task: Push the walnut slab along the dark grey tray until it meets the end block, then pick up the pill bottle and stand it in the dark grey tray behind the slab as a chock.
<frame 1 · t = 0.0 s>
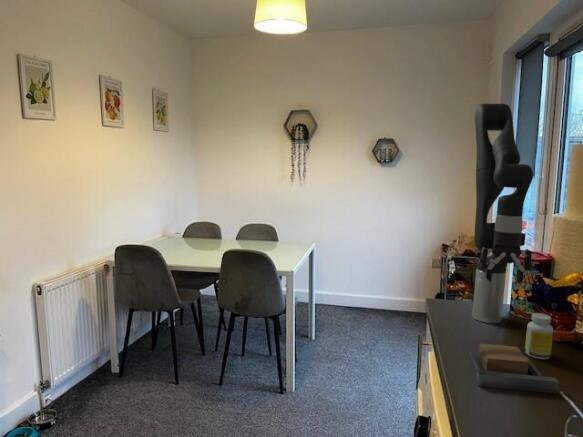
hand: (503, 281, 136), 17 cm above the countertop, tool pointing down, fingers open, 8 cm apart
slab: (501, 366, 119), on the countertop
dark grey tray: (505, 371, 115), on the countertop
pill bottle: (537, 355, 125), on the countertop
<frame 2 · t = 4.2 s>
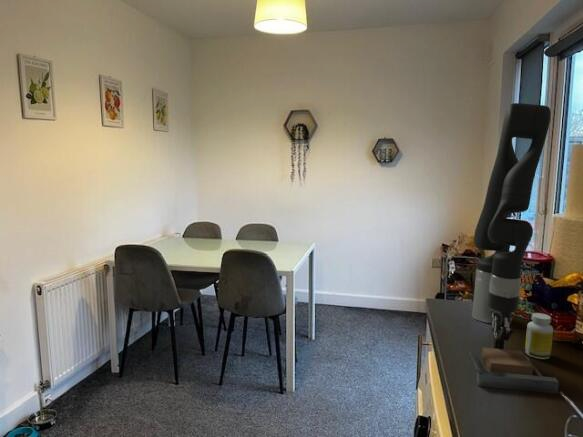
hand: (498, 351, 122), 2 cm above the countertop, tool pointing down, fingers closed
slab: (505, 370, 117), on the countertop
everything else where it was.
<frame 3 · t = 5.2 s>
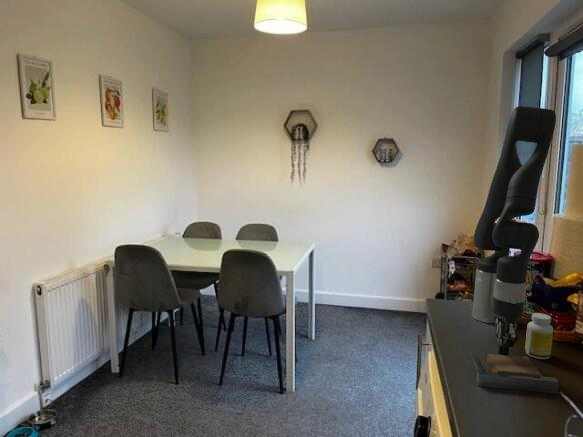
hand: (502, 357, 119), 2 cm above the countertop, tool pointing down, fingers closed
slab: (511, 378, 113), on the countertop, touching dark grey tray
everything else where it was.
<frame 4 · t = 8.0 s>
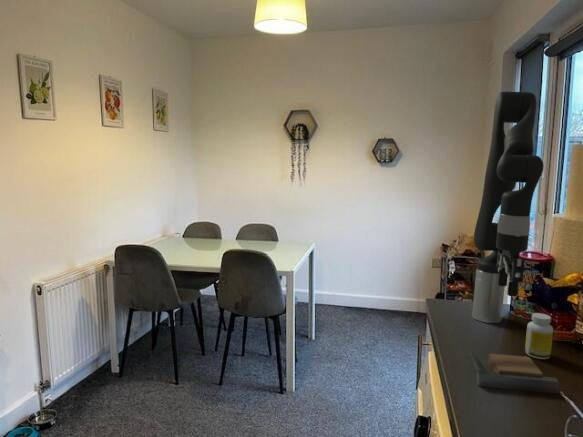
hand: (506, 290, 118), 20 cm above the countertop, tool pointing down, fingers open, 8 cm apart
slab: (513, 377, 113), on the countertop
everything else where it was.
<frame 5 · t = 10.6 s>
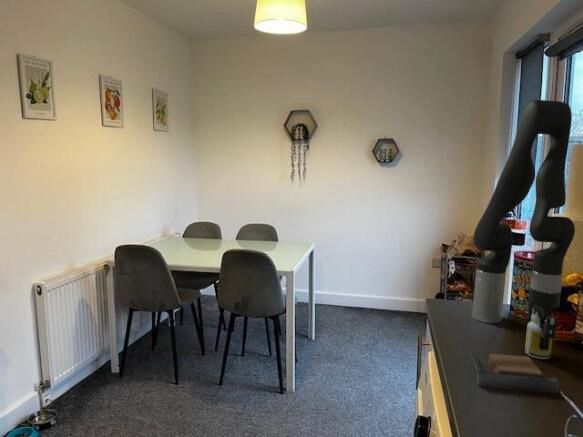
hand: (538, 343, 125), 3 cm above the countertop, tool pointing down, fingers closed on pill bottle, 6 cm apart
pill bottle: (537, 355, 125), on the countertop, touching gripper
everything else where it was.
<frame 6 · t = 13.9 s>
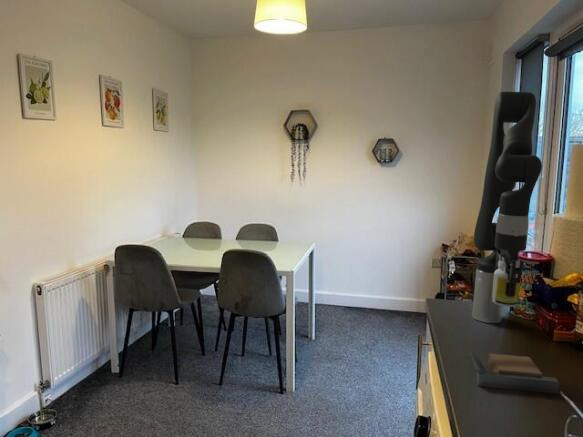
hand: (505, 291, 119), 20 cm above the countertop, tool pointing down, fingers closed on pill bottle, 6 cm apart
pill bottle: (504, 304, 119), point 16 cm above the countertop, touching gripper
everything else where it was.
when the fingers open (4 cm above the countertop, at t = 17.3 s): pill bottle stays where it is, on the countertop.
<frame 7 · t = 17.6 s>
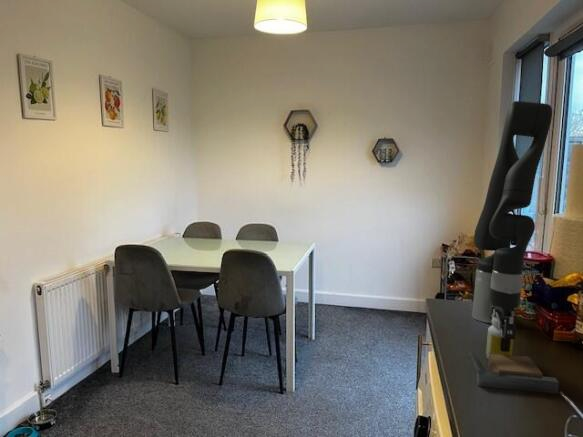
hand: (499, 344, 121), 5 cm above the countertop, tool pointing down, fingers open, 8 cm apart
pill bottle: (498, 360, 122), on the countertop
everything else where it was.
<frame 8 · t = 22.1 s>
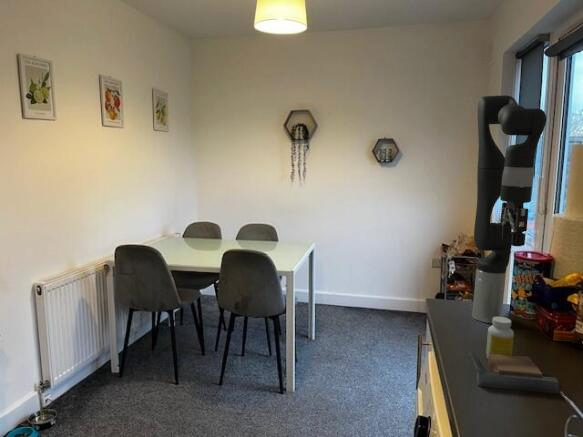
hand: (511, 242, 122), 32 cm above the countertop, tool pointing down, fingers open, 8 cm apart
nothing on the countertop moved.
at the end: slab 1.1 cm from the target spot, on the countertop; pill bottle 0.4 cm from the target spot, on the countertop; pill bottle tilted 0° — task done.
